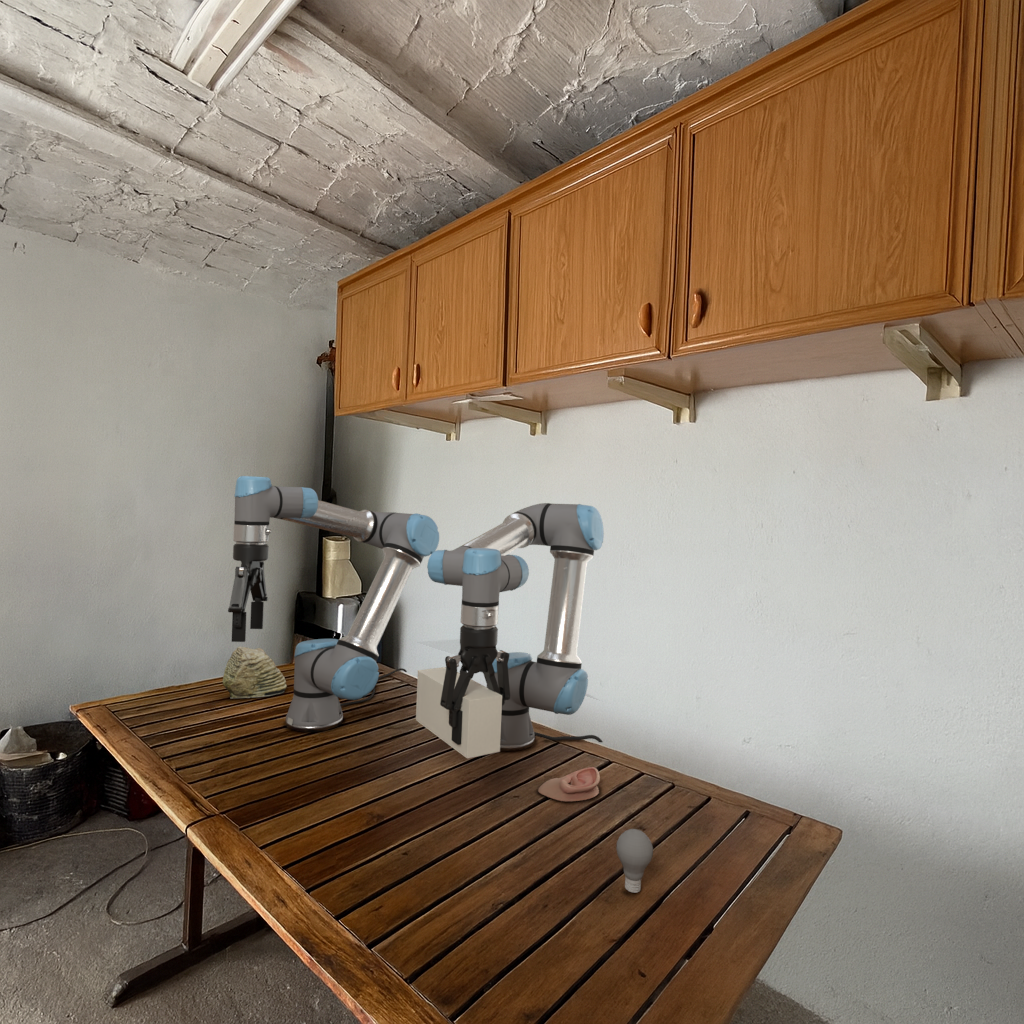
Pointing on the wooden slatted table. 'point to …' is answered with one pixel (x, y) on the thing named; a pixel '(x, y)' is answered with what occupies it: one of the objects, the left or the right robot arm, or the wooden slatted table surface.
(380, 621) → the left robot arm
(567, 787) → the anatomical model
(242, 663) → the fossil
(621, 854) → the light bulb
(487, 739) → the box
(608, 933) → the wooden slatted table surface
